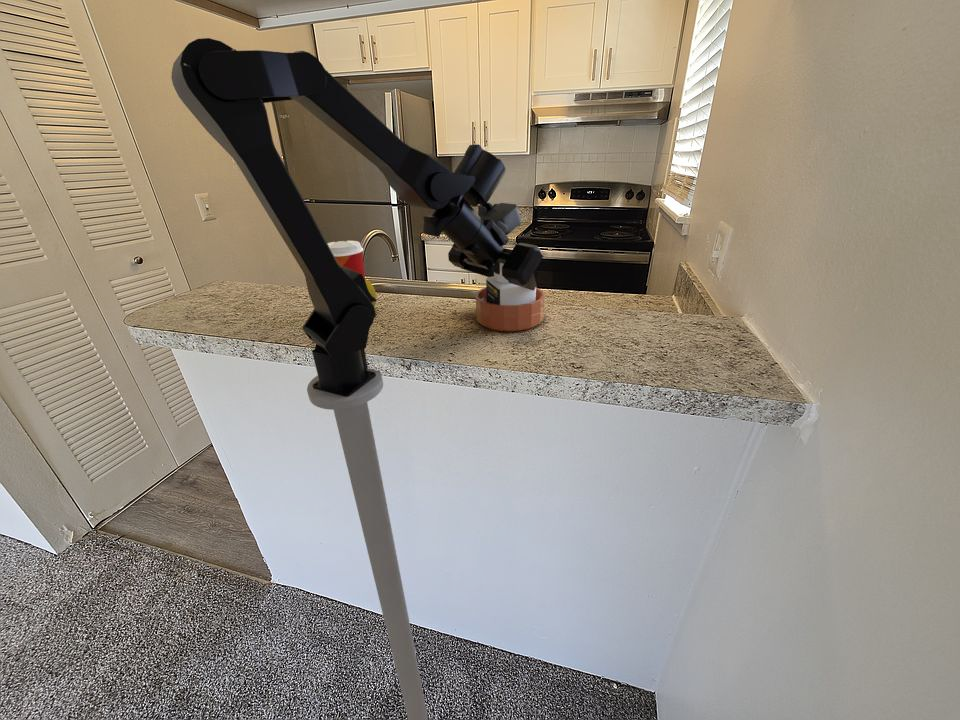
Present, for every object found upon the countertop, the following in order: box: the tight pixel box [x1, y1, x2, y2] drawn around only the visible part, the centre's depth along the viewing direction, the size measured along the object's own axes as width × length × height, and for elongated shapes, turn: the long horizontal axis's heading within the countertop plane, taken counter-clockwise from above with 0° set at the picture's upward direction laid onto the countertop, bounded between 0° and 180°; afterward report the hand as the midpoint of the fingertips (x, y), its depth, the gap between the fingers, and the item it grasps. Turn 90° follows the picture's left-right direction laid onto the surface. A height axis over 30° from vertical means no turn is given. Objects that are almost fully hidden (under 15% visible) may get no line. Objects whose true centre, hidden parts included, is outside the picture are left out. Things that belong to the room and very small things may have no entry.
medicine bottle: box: [485, 262, 537, 305], centre depth 74 cm, size 7×7×12 cm
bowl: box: [475, 287, 546, 332], centre depth 76 cm, size 13×13×5 cm
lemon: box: [365, 278, 377, 308], centre depth 79 cm, size 6×6×8 cm
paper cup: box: [327, 240, 366, 279], centre depth 77 cm, size 8×8×14 cm
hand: (516, 282), depth 74 cm, fingers closed on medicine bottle, 9 cm apart
